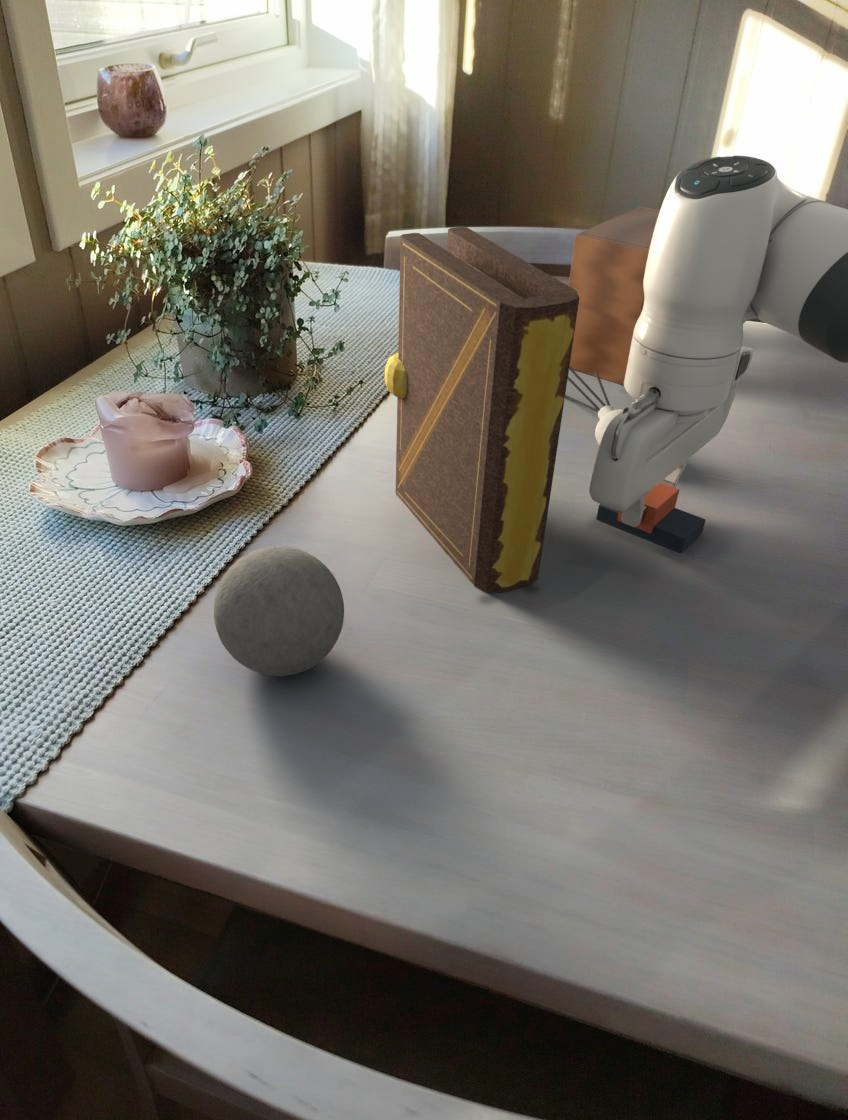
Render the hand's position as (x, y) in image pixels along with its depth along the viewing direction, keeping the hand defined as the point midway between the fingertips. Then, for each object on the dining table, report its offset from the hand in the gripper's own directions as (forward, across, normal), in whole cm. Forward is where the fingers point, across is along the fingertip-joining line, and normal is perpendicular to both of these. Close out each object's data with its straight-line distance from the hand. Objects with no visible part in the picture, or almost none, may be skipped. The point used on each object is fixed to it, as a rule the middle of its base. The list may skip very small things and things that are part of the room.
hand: (647, 509), depth 86 cm
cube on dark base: (+2, 0, 0) cm, 2 cm away
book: (+2, -12, +14) cm, 18 cm away
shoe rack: (+2, +35, +22) cm, 41 cm away
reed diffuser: (+2, +15, +14) cm, 20 cm away
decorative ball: (+2, -37, +12) cm, 39 cm away
